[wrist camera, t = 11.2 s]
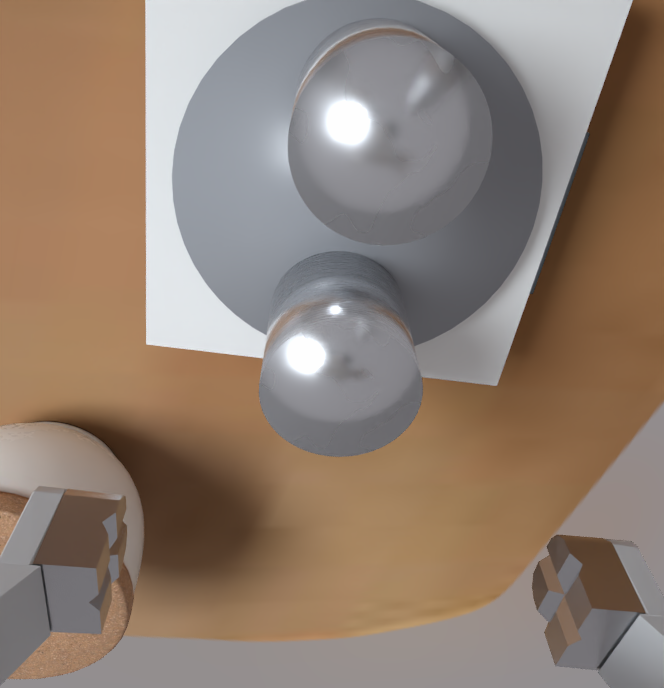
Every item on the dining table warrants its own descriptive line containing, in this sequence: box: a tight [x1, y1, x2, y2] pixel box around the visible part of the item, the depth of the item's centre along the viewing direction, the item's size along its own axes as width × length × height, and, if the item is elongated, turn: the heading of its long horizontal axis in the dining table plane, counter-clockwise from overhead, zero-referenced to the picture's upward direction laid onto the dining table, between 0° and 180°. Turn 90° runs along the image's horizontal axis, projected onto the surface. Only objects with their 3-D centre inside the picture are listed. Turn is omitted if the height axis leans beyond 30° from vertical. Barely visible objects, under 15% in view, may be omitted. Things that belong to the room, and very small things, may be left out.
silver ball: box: [288, 18, 493, 245], centre depth 17 cm, size 5×5×5 cm
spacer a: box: [259, 251, 423, 457], centre depth 21 cm, size 5×5×5 cm
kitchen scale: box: [146, 0, 633, 386], centre depth 22 cm, size 14×14×4 cm
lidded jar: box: [0, 421, 144, 679], centre depth 27 cm, size 11×11×9 cm
